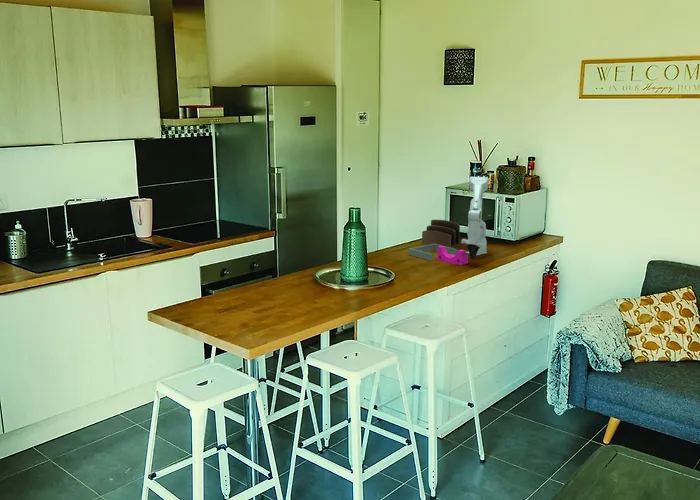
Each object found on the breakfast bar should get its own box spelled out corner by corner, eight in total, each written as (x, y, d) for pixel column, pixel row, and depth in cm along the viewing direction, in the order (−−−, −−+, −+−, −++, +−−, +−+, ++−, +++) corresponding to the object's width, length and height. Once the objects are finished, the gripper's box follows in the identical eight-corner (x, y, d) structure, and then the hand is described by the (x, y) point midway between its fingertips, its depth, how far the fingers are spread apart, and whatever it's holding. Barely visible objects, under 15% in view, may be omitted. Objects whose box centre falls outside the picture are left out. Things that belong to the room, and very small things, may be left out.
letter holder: (430, 241, 407) (431, 217, 404) (459, 246, 395) (460, 222, 391) (421, 243, 400) (422, 220, 396) (450, 249, 387) (451, 224, 384)
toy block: (467, 263, 355) (468, 249, 354) (461, 265, 351) (461, 251, 349) (444, 258, 365) (444, 245, 363) (437, 260, 361) (437, 246, 359)
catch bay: (434, 249, 384) (434, 243, 383) (456, 255, 371) (457, 249, 371) (408, 254, 372) (408, 248, 371) (431, 260, 359) (431, 254, 358)
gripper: (458, 231, 349) (456, 257, 353) (479, 236, 339) (478, 262, 342) (467, 230, 354) (465, 255, 357) (489, 234, 343) (487, 260, 346)
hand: (472, 259), depth 350 cm, fingers closed
